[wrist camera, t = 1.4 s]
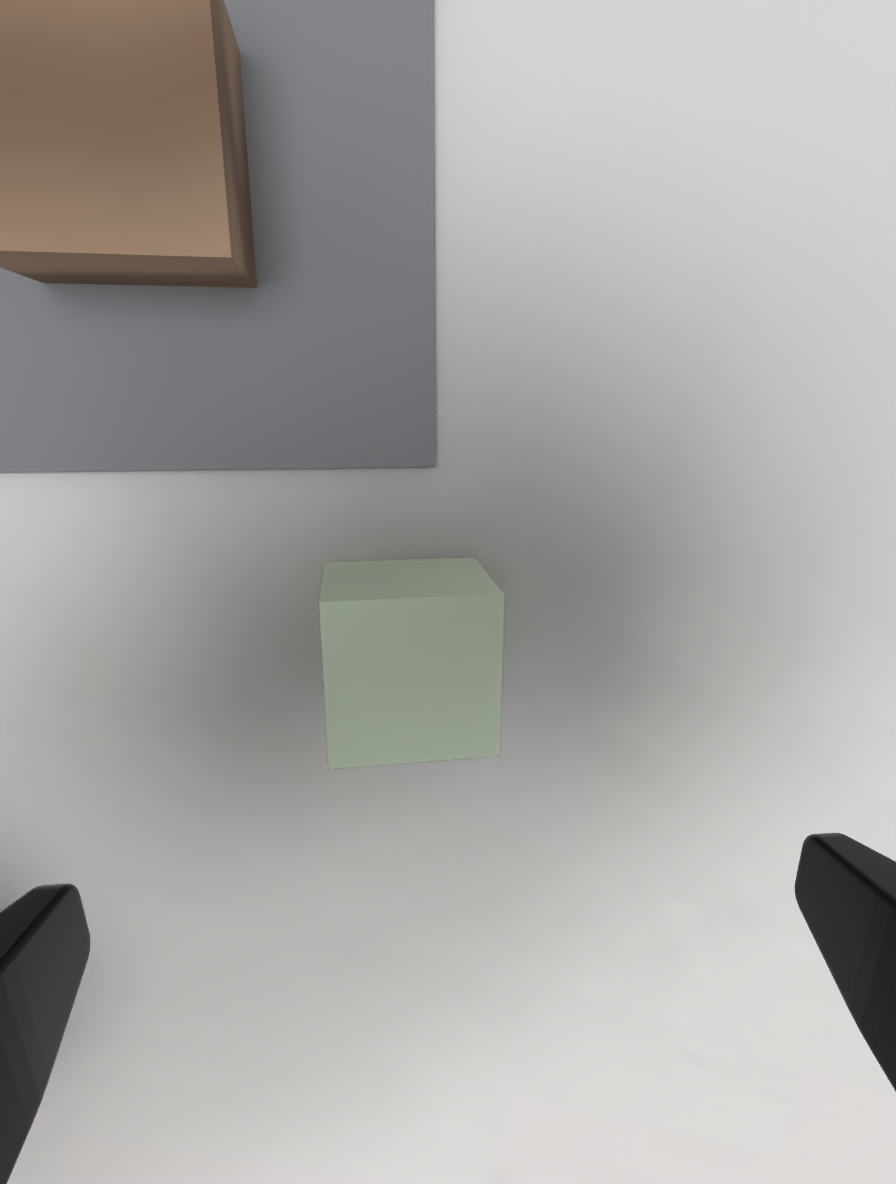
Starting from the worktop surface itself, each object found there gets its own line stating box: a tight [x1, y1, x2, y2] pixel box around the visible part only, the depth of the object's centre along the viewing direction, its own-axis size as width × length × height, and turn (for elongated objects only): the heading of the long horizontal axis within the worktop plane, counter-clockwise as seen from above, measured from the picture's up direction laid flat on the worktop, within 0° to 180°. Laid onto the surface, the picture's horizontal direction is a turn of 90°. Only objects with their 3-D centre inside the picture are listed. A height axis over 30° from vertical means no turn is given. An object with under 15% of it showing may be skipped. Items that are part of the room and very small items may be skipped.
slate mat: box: [0, 0, 435, 473], centre depth 16 cm, size 14×14×1 cm
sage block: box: [319, 557, 505, 769], centre depth 19 cm, size 4×4×4 cm
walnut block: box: [0, 0, 257, 288], centre depth 14 cm, size 5×5×4 cm
